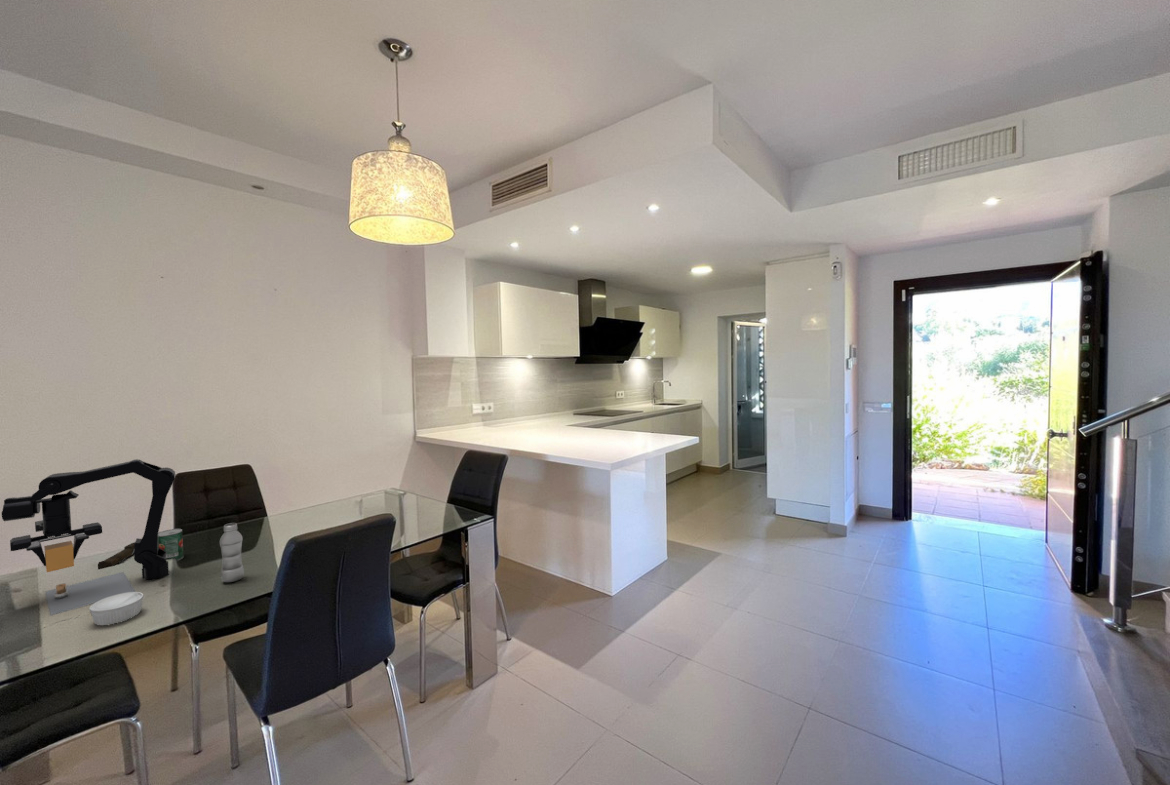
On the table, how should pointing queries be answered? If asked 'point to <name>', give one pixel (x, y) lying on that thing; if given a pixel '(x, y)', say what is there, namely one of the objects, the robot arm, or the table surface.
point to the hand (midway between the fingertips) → (59, 562)
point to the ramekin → (116, 608)
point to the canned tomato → (171, 543)
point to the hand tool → (117, 557)
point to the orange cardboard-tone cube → (59, 556)
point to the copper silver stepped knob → (61, 591)
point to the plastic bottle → (231, 554)
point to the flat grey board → (89, 592)
